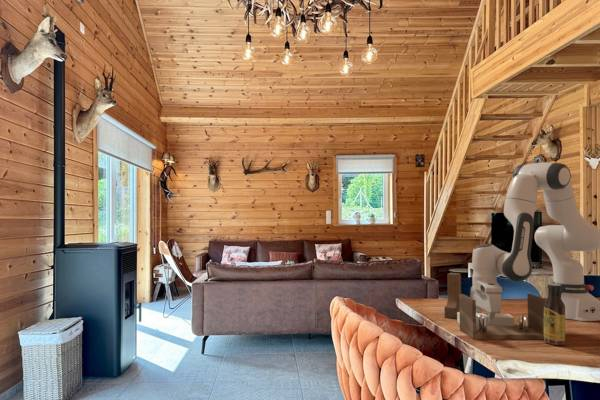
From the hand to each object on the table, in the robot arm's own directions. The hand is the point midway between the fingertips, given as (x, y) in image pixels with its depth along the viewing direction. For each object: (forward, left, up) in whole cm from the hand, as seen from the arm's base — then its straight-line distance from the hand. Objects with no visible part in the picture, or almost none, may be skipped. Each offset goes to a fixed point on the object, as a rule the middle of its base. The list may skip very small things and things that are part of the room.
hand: (485, 319), depth 167 cm
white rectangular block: (0, 0, -2) cm, 2 cm away
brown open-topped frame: (0, +15, -2) cm, 15 cm away
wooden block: (+8, -13, -2) cm, 15 cm away
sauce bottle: (-12, +26, -2) cm, 29 cm away
